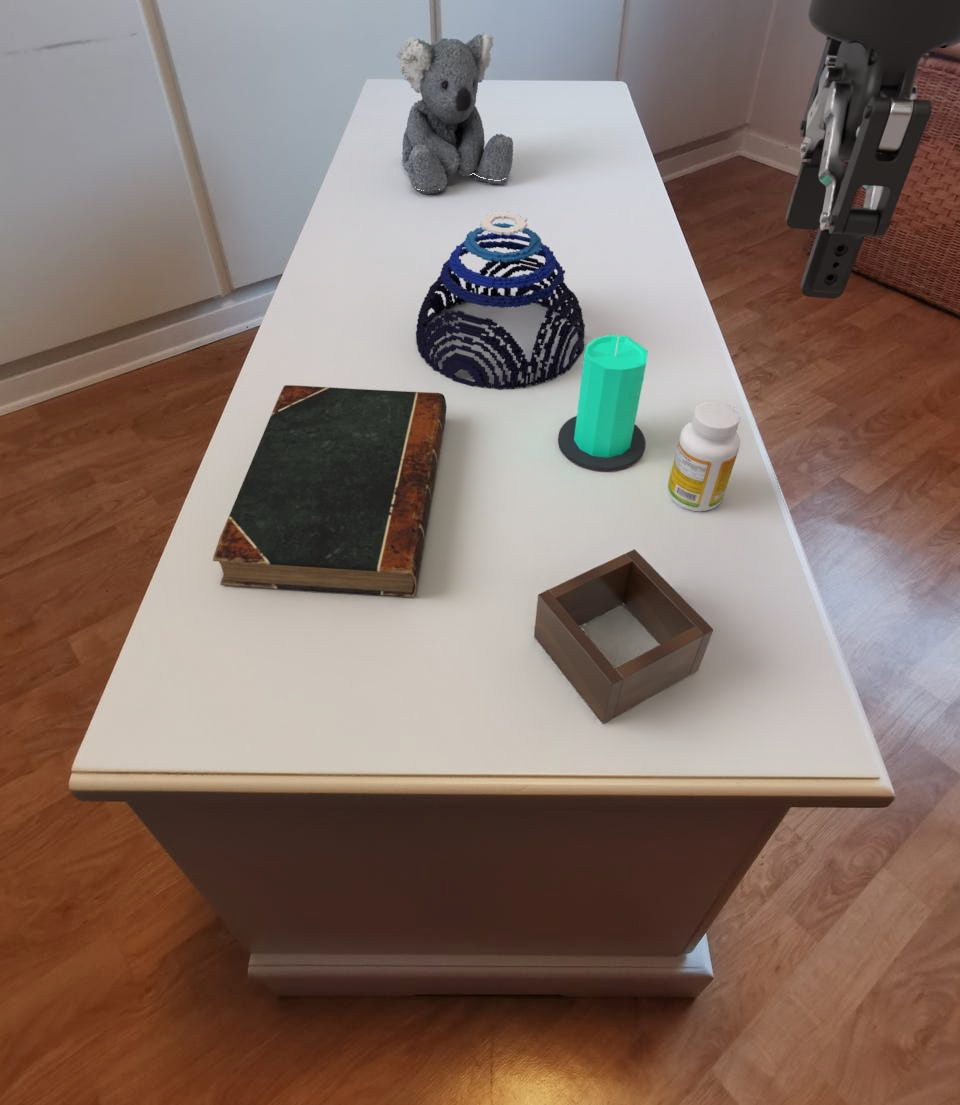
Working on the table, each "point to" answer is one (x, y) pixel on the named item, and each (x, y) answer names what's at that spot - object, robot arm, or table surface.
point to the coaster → (594, 462)
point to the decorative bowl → (495, 299)
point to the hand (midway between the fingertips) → (810, 258)
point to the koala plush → (449, 114)
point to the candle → (609, 395)
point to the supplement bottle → (705, 457)
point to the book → (337, 493)
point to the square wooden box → (653, 608)
